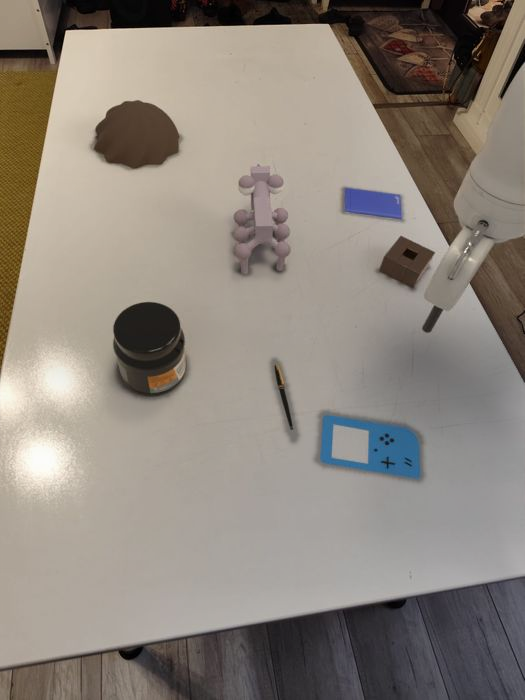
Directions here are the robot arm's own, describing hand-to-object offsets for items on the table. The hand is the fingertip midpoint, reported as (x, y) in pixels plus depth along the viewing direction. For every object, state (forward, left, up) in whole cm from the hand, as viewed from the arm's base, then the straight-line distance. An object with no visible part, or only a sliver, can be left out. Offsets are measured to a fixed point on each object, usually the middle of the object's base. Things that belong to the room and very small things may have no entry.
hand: (450, 287), depth 68 cm
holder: (+11, -24, -23) cm, 35 cm away
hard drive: (+25, -38, -24) cm, 51 cm away
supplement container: (+34, +23, -24) cm, 47 cm away
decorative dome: (+78, -22, -24) cm, 84 cm away
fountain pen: (+13, +15, -24) cm, 31 cm away
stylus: (0, 0, -9) cm, 9 cm away
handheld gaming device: (-1, +14, -23) cm, 27 cm away
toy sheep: (+38, -13, -24) cm, 46 cm away
